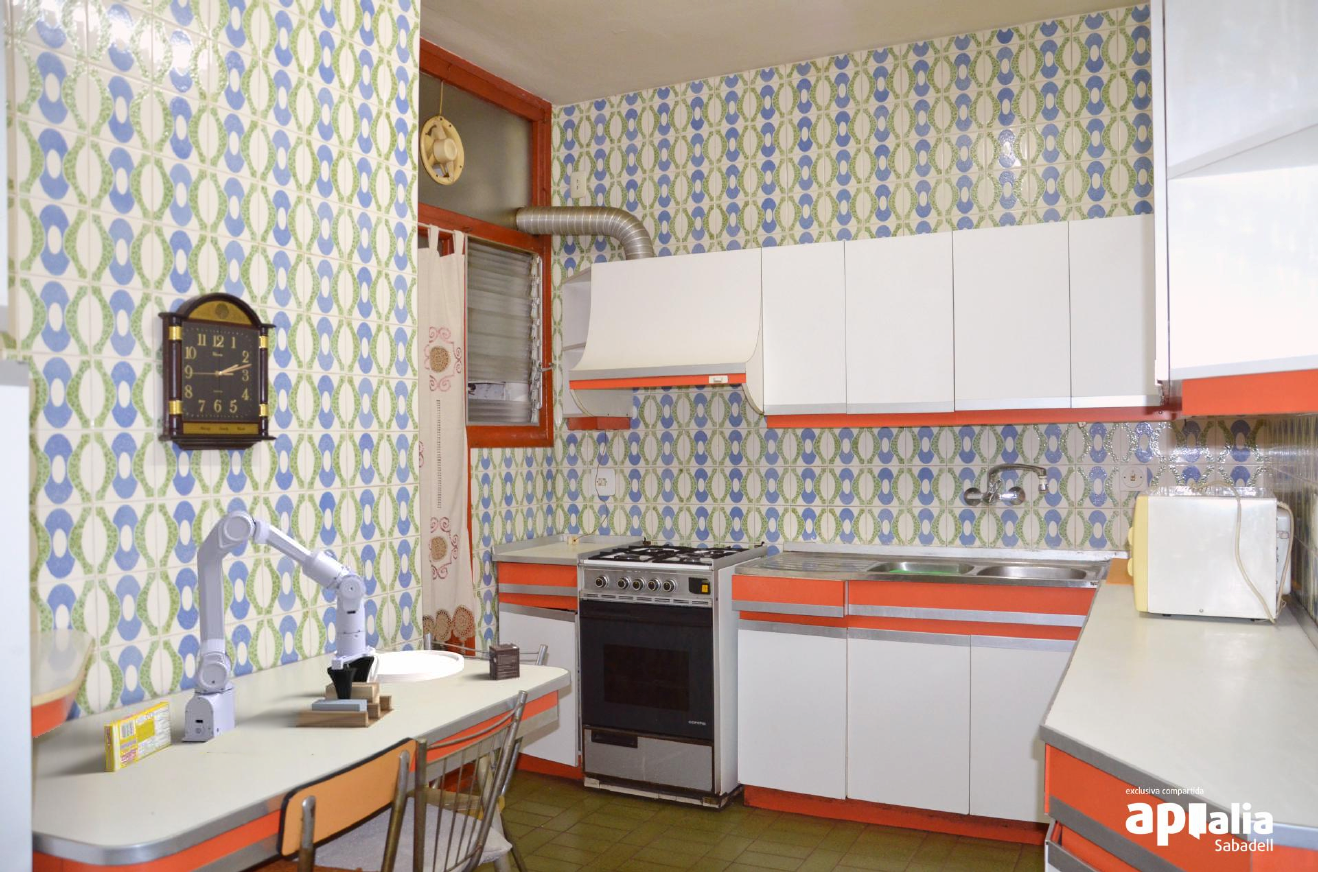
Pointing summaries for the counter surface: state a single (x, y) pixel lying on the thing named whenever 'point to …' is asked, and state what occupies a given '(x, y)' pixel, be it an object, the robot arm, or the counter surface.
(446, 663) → the plate
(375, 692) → the wooden block
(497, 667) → the box
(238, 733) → the counter surface
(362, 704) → the blue slat
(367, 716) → the rack
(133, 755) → the candy box
